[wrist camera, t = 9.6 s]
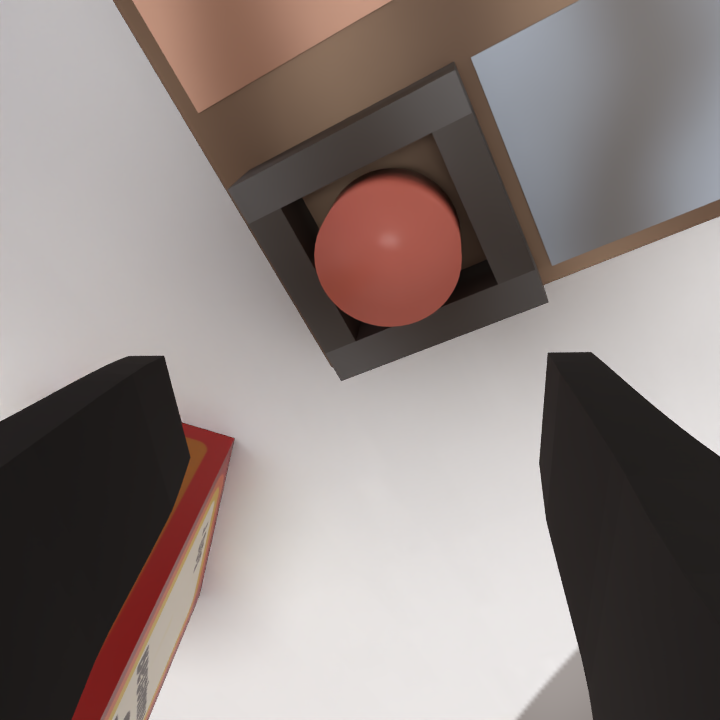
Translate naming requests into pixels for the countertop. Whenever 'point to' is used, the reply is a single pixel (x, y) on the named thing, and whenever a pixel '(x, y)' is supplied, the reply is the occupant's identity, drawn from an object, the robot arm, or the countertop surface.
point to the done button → (389, 248)
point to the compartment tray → (450, 133)
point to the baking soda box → (161, 593)
